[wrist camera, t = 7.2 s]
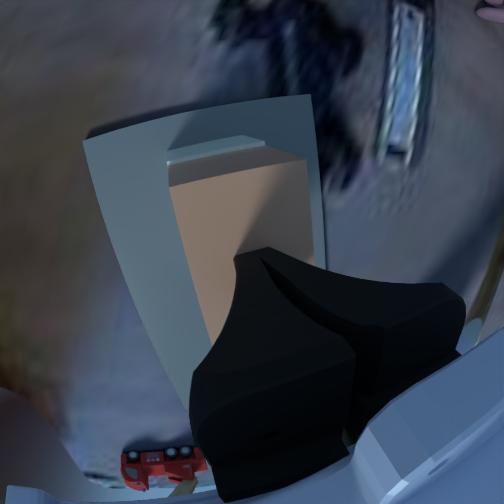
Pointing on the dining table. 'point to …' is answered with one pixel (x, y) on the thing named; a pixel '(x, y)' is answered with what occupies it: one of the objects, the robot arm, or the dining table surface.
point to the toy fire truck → (163, 468)
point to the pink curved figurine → (492, 11)
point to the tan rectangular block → (238, 217)
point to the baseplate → (164, 220)
